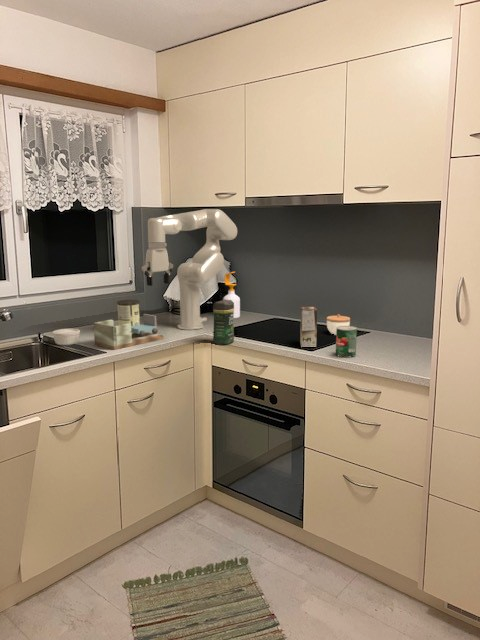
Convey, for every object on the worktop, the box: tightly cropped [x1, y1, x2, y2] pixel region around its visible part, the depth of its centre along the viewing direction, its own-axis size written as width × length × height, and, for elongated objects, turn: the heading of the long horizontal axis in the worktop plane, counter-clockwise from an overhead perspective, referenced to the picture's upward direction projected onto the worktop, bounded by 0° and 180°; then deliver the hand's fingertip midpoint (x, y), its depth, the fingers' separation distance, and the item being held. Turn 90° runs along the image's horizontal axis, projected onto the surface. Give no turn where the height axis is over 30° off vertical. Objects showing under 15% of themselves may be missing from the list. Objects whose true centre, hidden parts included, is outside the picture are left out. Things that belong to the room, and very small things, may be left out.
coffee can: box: [116, 299, 141, 326], centre depth 255 cm, size 10×10×14 cm
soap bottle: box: [222, 271, 241, 319], centre depth 286 cm, size 9×9×25 cm
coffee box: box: [299, 305, 318, 348], centre depth 225 cm, size 9×6×16 cm
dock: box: [93, 319, 164, 351], centre depth 232 cm, size 26×14×10 cm, turn 138°
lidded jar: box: [326, 313, 351, 336], centre depth 247 cm, size 11×11×9 cm
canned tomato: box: [335, 325, 358, 357], centre depth 210 cm, size 8×8×11 cm
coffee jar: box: [212, 299, 235, 345], centre depth 230 cm, size 10×8×19 cm
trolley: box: [131, 313, 159, 336], centre depth 237 cm, size 10×10×8 cm
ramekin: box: [52, 328, 81, 346], centre depth 231 cm, size 11×11×5 cm
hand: (158, 284), depth 242 cm, fingers open, 9 cm apart
